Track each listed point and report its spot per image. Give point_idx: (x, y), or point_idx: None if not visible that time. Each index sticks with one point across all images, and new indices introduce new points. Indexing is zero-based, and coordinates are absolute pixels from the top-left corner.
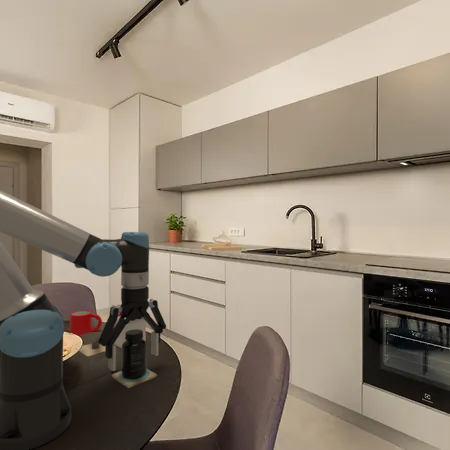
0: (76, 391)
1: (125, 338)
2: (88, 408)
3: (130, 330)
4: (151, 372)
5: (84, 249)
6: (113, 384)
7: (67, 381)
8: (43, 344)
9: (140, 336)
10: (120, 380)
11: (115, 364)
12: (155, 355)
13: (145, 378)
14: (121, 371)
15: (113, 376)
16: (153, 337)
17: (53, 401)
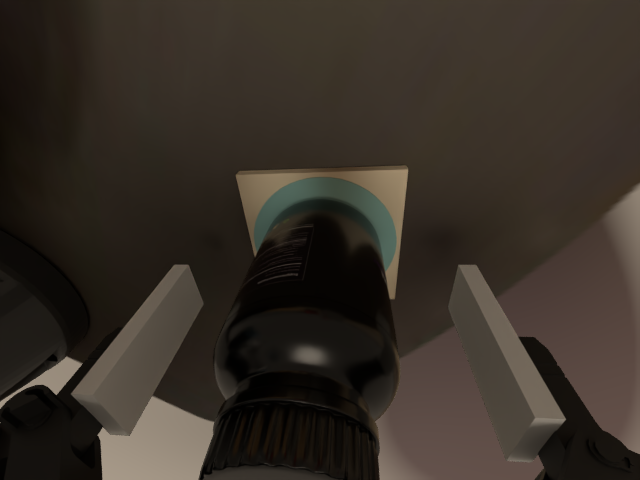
0: (82, 189)
1: (213, 430)
2: (132, 303)
3: (273, 474)
4: (390, 274)
5: None
6: (228, 236)
7: (15, 51)
8: None
9: None
10: (254, 248)
11: (189, 326)
12: (449, 303)
13: None
14: (289, 177)
15: (241, 192)
16: (500, 390)
17: None
